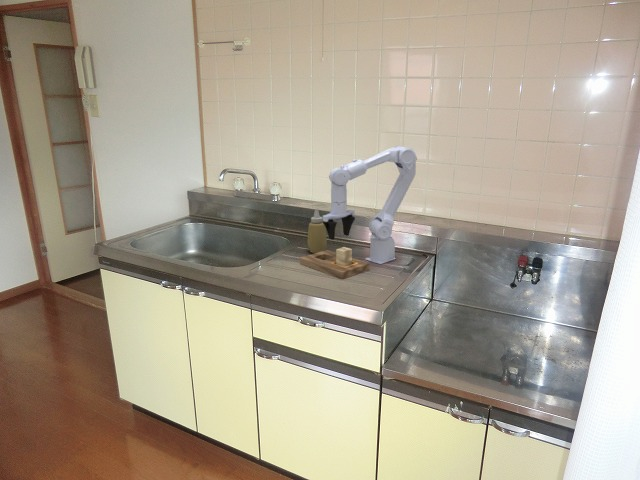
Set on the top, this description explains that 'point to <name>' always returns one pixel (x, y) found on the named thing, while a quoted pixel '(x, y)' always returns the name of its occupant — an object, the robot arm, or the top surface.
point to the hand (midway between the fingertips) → (339, 237)
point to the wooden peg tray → (333, 264)
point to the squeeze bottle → (317, 234)
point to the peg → (344, 256)
